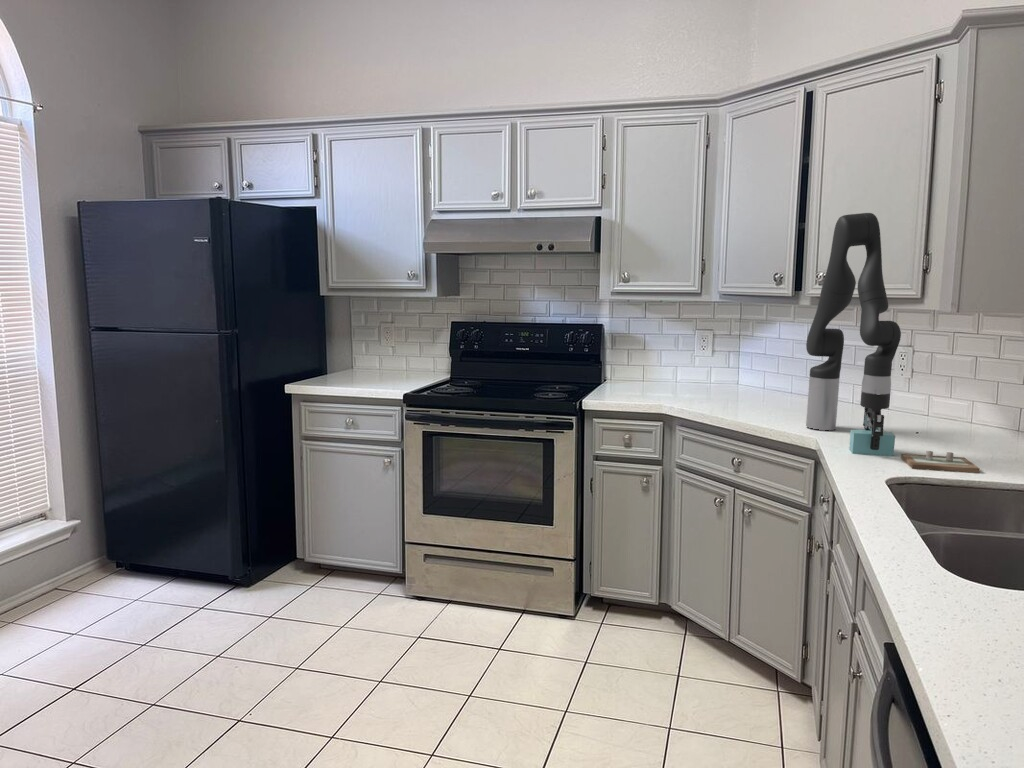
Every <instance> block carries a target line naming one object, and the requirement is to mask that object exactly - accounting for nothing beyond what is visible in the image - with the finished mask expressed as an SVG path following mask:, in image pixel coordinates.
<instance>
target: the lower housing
mask: <svg viewBox="0 0 1024 768" xmlns="http://www.w3.org/2000/svg"><path fill="white" fill-rule="evenodd" d="M875 432H878V430H876V431H875ZM849 435H850V438H849V447H848V448H849V449H848V450H849V451H850V452H851V454H853V455H854V454H855V455H867V456H868V455H872V456H884V457H885V456H886V457H888V456H889V457H894V455H895V454H894V453H895V442H896V434H894V433H893V432H892V431H884V430H883V436H881V437H880V444H879V450H872V449H871V448H870V443H871V431H868V430H864V429H863V430H862V429H850V434H849Z"/></svg>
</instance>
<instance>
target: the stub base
mask: <svg viewBox="0 0 1024 768" xmlns="http://www.w3.org/2000/svg"><path fill="white" fill-rule="evenodd" d="M900 459H902V461H904V463H906V464H907V465H908V466H909V467H910V468H911V469H912V470H913V469H914V470H926V469H929V470H928V471H940V470H944V471H943V472H955V471H959V472H958V473H970V472H974V473H976V474H980V467H978V466H977V465H975V464H974V463H972V462H971V460H969V459H968V458H966V457H964V456H963V457H962V456H961V457H959V456H954V452H951V451H947V452H946V456H945V455H944V456H943V455H934V451H932V450H926V452H925V454H913V453H901V454H900Z"/></svg>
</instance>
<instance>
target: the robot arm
mask: <svg viewBox="0 0 1024 768" xmlns="http://www.w3.org/2000/svg"><path fill="white" fill-rule="evenodd" d="M881 240H882V239H881V228H880V222H879V219H878V217H877V215H875V214H874V213H873V212H861V213H851V214H844V215H841V216H840V217H838V219H837V221H836V223H835V226H834V231H833V236H832V243H831V249H830V255H829V260H828V264H827V269H826V272H825V276H824V279H823V283H822V287H821V290H820V294H819V300H818V303H817V307H816V311H815V315H814V317H813V320H812V323H811V325H810V328H809V330H808V334H807V339H806V343H805V345H806V346H805V347H806V352H807V354H809V356H813V357H828V359H827V360H826V361H824V362H822V363H820V364H818V365H815V366H812V367H810V369H809V378H808V379H809V380H808V393H807V406H806V407H807V409H806V421H805V427H806V426H807V427H809V428H808V429H810V428H813V429H812V430H814V429H819V430H818V431H825V430H829V431H835V430H836V428H837V419H838V418H837V417H838V403H839V394H840V393H839V392H840V388H839V387H840V376H841V371H842V370H841V369H842V360H843V352H844V346H845V345H844V344H845V334H844V331H842V329H841V328H827V326H828V325H829V324H830V323H831V322H832V321H833V320H834V319H835V318H836V317H837V316H838V315H839V314H841V313H842V312H843V311H844V310H845V309H846V308H847V307H848V306H849V305H850V303H852V302H851V301H852V298H853V295H854V292H855V288H856V286H857V294H858V299H859V303H860V309H861V311H860V313H861V314H860V324H859V325H860V326H859V335H860V339H861V340H862V341H863V343H864V344H865V345H867V346H870V347H876V350H875V351H874V352H873V353H870V354H868V355H866V357H865V358H864V364H863V365H864V367H863V376H862V379H861V380H862V381H861V391H860V403H859V404H860V406H861V407H863V408H864V409H863V410H864V412H863V421H862V422H863V424H862V426H863V430H868V431H871V443H870V448H871V449H872V450H879V444H880V437H881V436H883V431H884V424H885V415H884V414H882V410H887V409H889V407H890V402H891V393H892V392H891V391H892V368H893V360H894V358H895V355H896V353H897V350H898V347H899V346H900V341H901V337H902V330H901V327H900V326H899V324H898V323H897V322H896V321H893V320H880V318H879V317H880V314H883V313H885V312H886V311H887V310H888V309H889V301H888V296H887V292H886V288H885V281H884V277H883V276H884V275H883V261H882V260H883V259H882V257H883V256H882V254H883V253H882V241H881ZM857 246H858V247H859V246H864V248H865V250H866V258H865V259H866V260H865V263H864V264H863V265H864V266H863V268H862V271H861V272H860V274H859V278H858V282H857V280H856V278H855V277H856V276H855V274H854V272H853V270H852V269H851V266H850V265H849V263H848V257H847V256H848V251H849V249H850V248H851V247H857ZM807 427H806V428H807ZM834 429H835V430H834ZM875 431H878V432H875Z"/></svg>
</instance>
